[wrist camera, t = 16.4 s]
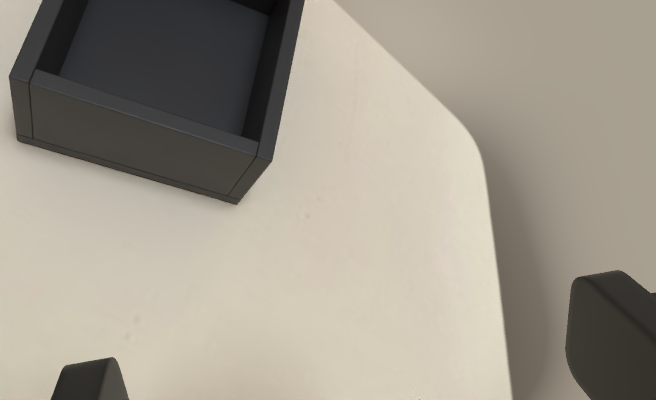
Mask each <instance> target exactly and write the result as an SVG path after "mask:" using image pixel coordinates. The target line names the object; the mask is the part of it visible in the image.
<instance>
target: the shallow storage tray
mask: <svg viewBox="0 0 656 400" xmlns="http://www.w3.org/2000/svg"><path fill="white" fill-rule="evenodd" d="M304 1H305V0H42V3H41V5H40V7H39V9H38V12H37V14H36V16H35V18H34V21H33V23H32V25H31V27H30V30H29V32H28V34H27V36H26V39H25V41H24V43H23V46H22V48H21V50H20V52H19V55H18V57H17V59H16V61H15V64H14V66H13V68H12V70H11V73H10V75H9V81H10V88H11V96H12V103H13V111H14V118H15V125H16V134H17V140H18V141H21V142H24V143H28V144H31V145H35V146H38V147H42V148H45V149H48V150H52V151H55V152H59V153H62V154H66V155H69V156H72V157H76V158H79V159H83V160H86V161H90V162H93V163H96V164H100V165H103V166H107V167H110V168H114V169H117V170H121V171H124V172H127V173H131V174H134V175H138V176H141V177H145V178H148V179H151V180H155V181H158V182H162V183H165V184H169V185H172V186H175V187H179V188H182V189H186V190H189V191H193V192H196V193H200V194H203V195H206V196H210V197H213V198H217V199H220V200H224V201H227V202H230V203H234V204H238V203H239V202H240V200H241V199H242V198H243V197H244V195H245V194H246V193H247V192H248V190H249V189H250V188H251V187H252V185H253V184H254V183H255V182H256V180H257V179H258V178H259V177H260V175H261V174H262V173H263V172H264V171H265V169H266V168H267V167H268V166H269V164H270V163H271V162H272V159H273V155H274V150H275V145H276V140H277V135H278V130H279V125H280V120H281V115H282V110H283V105H284V100H285V95H286V90H287V85H288V80H289V75H290V70H291V65H292V61H293V56H294V51H295V46H296V41H297V36H298V31H299V26H300V21H301V16H302V11H303V6H304Z"/></svg>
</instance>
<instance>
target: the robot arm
mask: <svg viewBox="0 0 656 400" xmlns="http://www.w3.org/2000/svg"><path fill="white" fill-rule="evenodd" d="M565 350H566V358H567V362H568V365H569V368H570V371H571V373H572V375H573V377H574V379H575V380H576V382H577V383H578V384H579V386H580V387H581V388H582V389H583V390H584V392H585V393H586V394H587V395H588V396H589V398H590V399H591V400H656V293H650V292H648V291H647V290H646V289H645V288H643V287H642V286H641V285H640V284H638V283H637V282H636V281H635V280H633V279H632V278H631V277H630V276H628V275H627V274H626V273H624V272H622V271H619V270H616V271H610V272H605V273H599V274H593V275H587V276H582V277H577V278H576V279H575V280H574V281H573V283H572V286H571V294H570V304H569V314H568V325H567V335H566V347H565ZM51 400H129V398H128V395H127V391H126V388H125V384H124V381H123V378H122V374H121V371H120V368H119V365H118V362H117V361H116V359H115V358H113V357H111V358H105V359H99V360H94V361H88V362H82V363H77V364H71V365H66V366H65V367H64V368H63V369H62V371H61V374H60V376H59V379H58V382H57V384H56V387H55V390H54V393H53V395H52V398H51Z"/></svg>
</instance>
